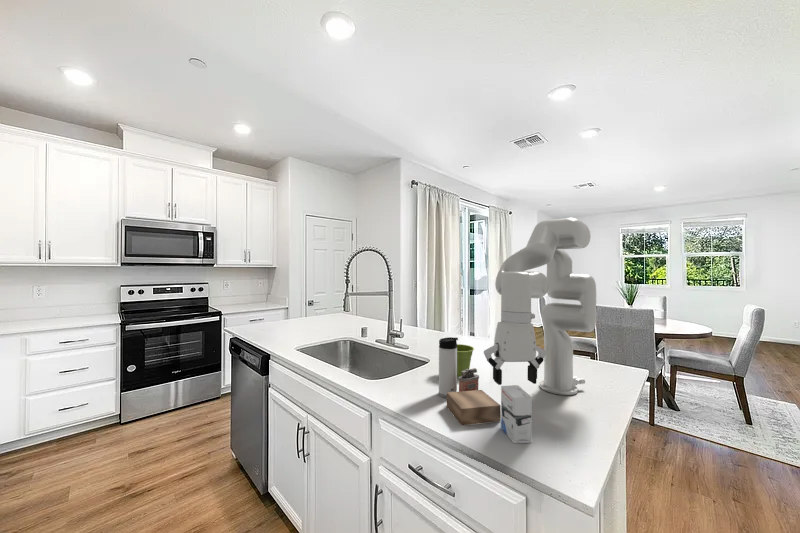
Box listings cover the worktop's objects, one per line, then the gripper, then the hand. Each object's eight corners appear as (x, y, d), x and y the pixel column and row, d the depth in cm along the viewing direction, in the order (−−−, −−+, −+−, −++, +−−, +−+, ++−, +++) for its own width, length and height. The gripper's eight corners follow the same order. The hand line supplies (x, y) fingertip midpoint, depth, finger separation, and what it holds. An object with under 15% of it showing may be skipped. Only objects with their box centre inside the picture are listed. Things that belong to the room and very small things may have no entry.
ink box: (500, 427, 88) (500, 384, 88) (517, 426, 88) (517, 384, 88) (513, 444, 79) (513, 397, 79) (532, 443, 80) (532, 396, 80)
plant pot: (440, 371, 135) (440, 345, 135) (465, 368, 139) (465, 343, 139) (453, 380, 124) (453, 352, 124) (479, 377, 128) (479, 350, 128)
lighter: (462, 402, 104) (462, 372, 104) (456, 399, 107) (456, 369, 107) (481, 398, 107) (481, 368, 107) (474, 394, 110) (474, 366, 110)
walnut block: (481, 405, 103) (481, 389, 103) (500, 422, 91) (500, 405, 91) (446, 408, 100) (446, 392, 100) (461, 426, 89) (461, 408, 89)
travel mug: (457, 399, 106) (457, 340, 106) (438, 397, 108) (438, 339, 108) (457, 392, 112) (458, 336, 113) (439, 390, 114) (439, 335, 114)
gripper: (537, 316, 89) (537, 377, 88) (479, 316, 86) (478, 378, 86) (554, 320, 81) (553, 386, 81) (491, 320, 79) (490, 388, 79)
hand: (514, 382), depth 83 cm, fingers open, 9 cm apart
